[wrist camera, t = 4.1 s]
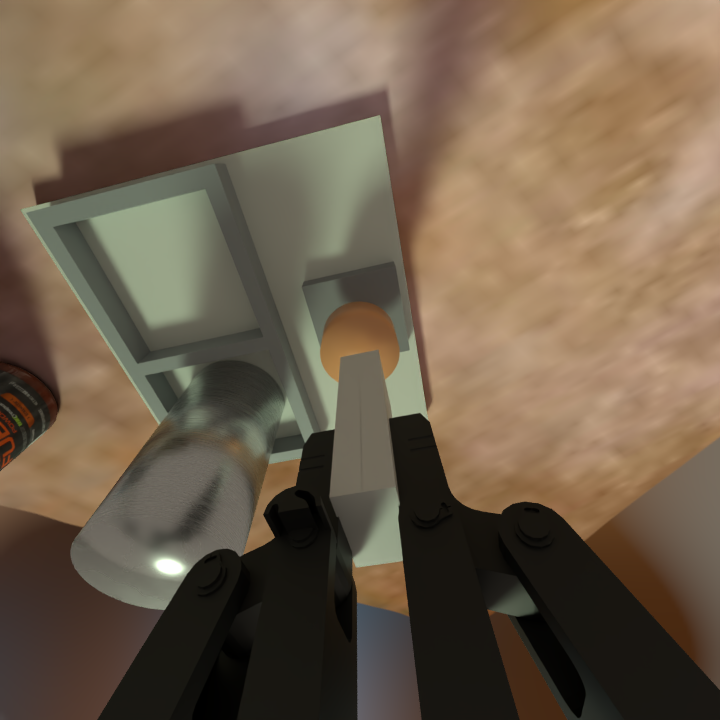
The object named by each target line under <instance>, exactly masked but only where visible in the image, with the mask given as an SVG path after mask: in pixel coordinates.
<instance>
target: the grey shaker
mask: <svg viewBox="0 0 720 720" xmlns="http://www.w3.org/2000/svg"><path fill="white" fill-rule="evenodd" d="M283 410H284V397H283V393H282V390H281V388H280V386H279V385H278V383H277V382H276V381H275V380H274V378H273V377H272V376H271V375H269V374H268V373H267V372H266V371H264V370H263V369H261V368H259V367H258V366H255V365H253V364H250V363H247V362H243V361H237V360H224V361H218V362H215V363H212V364H210V365H208V366H206V367H204V368H203V369H202V370H201V371H199V373H198V374H197V375H196V376H195V378H194V379H193V380H192V382H191V383H190V384H189V386H188V387H187V388H186V390H185V391H184V392H183V394H182V395H181V396H180V398H179V399H178V400H177V402H176V403H175V405H174V406H173V407H172V409H171V410H170V411H169V413H168V414H167V415H166V417H165V418H164V419H163V421H162V422H161V423H160V425H159V426H158V427H157V429H156V430H155V431H154V433H153V434H152V436H151V437H150V438H149V440H148V441H147V442H146V444H145V445H144V446H143V448H142V449H141V450H140V452H139V453H138V454H137V456H136V457H135V458H134V460H133V461H132V463H131V464H130V465H129V467H128V468H127V469H126V471H125V472H124V473H123V475H122V476H121V477H120V479H119V480H118V481H117V483H116V484H115V485H114V487H113V488H112V489H111V491H110V492H109V494H108V495H107V496H106V498H105V499H104V500H103V502H102V503H101V504H100V506H99V507H98V508H97V510H96V511H95V512H94V514H93V515H92V516H91V518H90V519H89V521H88V522H87V523H86V525H85V526H84V527H83V529H82V530H81V531H80V533H79V534H78V535H77V537H76V538H75V540H74V542H73V544H72V547H71V559H72V563H73V565H74V567H75V569H76V570H77V571H78V573H79V574H80V575H81V577H83V579H84V580H85V581H87V582H88V583H89V584H90V585H91V586H93V587H94V588H96V589H97V590H99V591H101V592H103V593H104V594H106V595H108V596H110V597H113V598H115V599H117V600H120V601H123V602H126V603H129V604H132V605H136V606H141V607H145V608H152V609H160V610H165V609H166V607H167V606H168V604H169V602H170V601H171V599H172V598H173V596H174V594H175V593H176V591H177V589H178V588H179V586H180V585H181V583H182V581H183V580H184V578H185V576H186V575H187V573H188V572H189V571H190V570H191V568H192V567H193V566H194V565H195V563H197V562H198V561H199V560H200V559H201V558H203V557H204V556H205V555H207V554H209V553H211V552H213V551H215V550H218V549H227V548H228V549H230V550H233V551H236V553H237V554H238V556H239V557H240V556H242V555H243V553H244V549H245V546H246V542H247V539H248V535H249V531H250V528H251V524H252V521H253V517H254V514H255V510H256V506H257V503H258V499H259V496H260V492H261V489H262V485H263V481H264V478H265V474H266V471H267V467H268V464H269V460H270V456H271V453H272V449H273V446H274V442H275V438H276V435H277V431H278V428H279V424H280V421H281V417H282V413H283Z"/></svg>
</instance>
